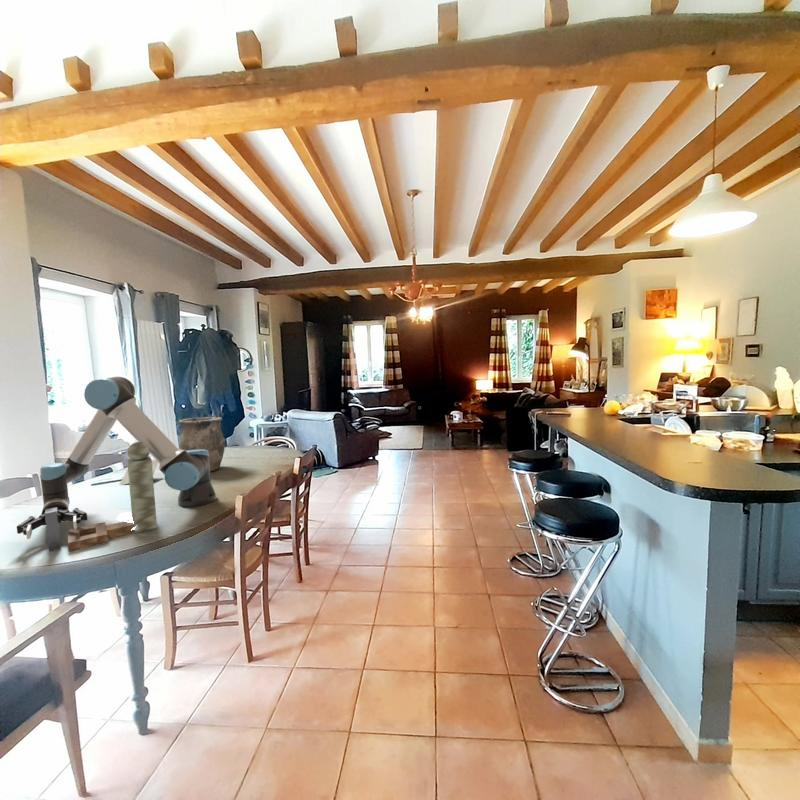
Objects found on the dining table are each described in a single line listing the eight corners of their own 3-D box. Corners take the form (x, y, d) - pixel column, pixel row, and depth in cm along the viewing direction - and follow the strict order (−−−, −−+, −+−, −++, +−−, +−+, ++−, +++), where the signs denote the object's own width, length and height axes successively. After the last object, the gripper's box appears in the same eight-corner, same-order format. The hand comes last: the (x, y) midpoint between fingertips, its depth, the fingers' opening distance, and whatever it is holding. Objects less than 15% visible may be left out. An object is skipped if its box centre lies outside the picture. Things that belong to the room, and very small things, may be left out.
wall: (160, 487, 218) (164, 464, 228) (152, 478, 211) (157, 455, 221) (127, 494, 216) (133, 470, 226) (118, 485, 209) (125, 461, 219)
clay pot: (234, 467, 240) (231, 416, 237) (197, 477, 220) (194, 422, 217) (210, 463, 251) (207, 414, 248) (173, 472, 231) (169, 419, 228)
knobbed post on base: (153, 519, 162) (146, 438, 159) (158, 530, 151) (151, 443, 148) (69, 537, 147) (60, 448, 143) (68, 551, 136) (58, 454, 132)
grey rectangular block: (61, 543, 142) (57, 507, 140) (60, 549, 138) (56, 511, 136) (49, 546, 140) (45, 509, 139) (48, 551, 136) (44, 513, 135)
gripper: (95, 513, 160) (97, 531, 142) (13, 529, 145) (4, 551, 128) (93, 494, 159) (95, 510, 142) (10, 508, 145) (1, 528, 127)
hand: (52, 529), depth 135 cm, fingers open, 11 cm apart
